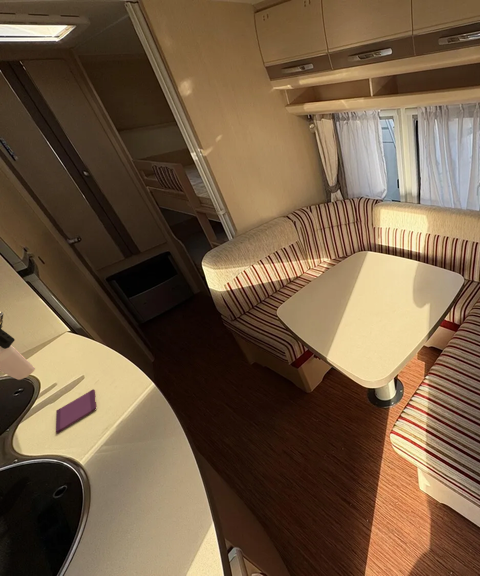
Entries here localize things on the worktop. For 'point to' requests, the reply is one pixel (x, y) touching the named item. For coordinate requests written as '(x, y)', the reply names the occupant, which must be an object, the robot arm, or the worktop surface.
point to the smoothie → (14, 363)
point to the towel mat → (75, 410)
